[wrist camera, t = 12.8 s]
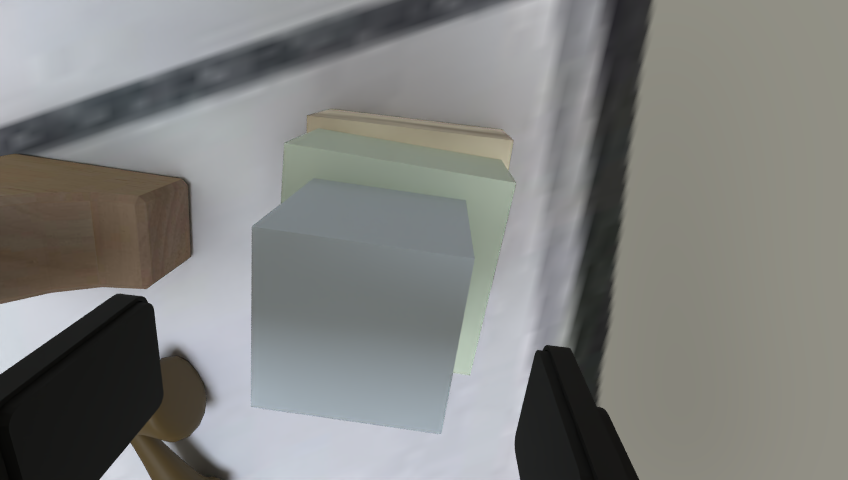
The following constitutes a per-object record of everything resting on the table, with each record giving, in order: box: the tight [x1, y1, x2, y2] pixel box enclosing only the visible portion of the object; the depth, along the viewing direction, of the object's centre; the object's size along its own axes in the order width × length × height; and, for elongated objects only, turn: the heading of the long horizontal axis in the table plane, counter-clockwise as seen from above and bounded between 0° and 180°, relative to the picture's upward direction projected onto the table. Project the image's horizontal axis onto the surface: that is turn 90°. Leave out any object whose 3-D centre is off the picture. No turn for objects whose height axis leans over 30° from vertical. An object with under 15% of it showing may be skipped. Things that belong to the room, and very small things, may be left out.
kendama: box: [130, 356, 221, 480], centre depth 33 cm, size 6×10×20 cm
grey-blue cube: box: [251, 178, 475, 434], centre depth 16 cm, size 6×6×6 cm
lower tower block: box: [307, 109, 514, 169], centre depth 26 cm, size 10×10×5 cm
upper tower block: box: [281, 128, 516, 375], centre depth 21 cm, size 9×9×5 cm
